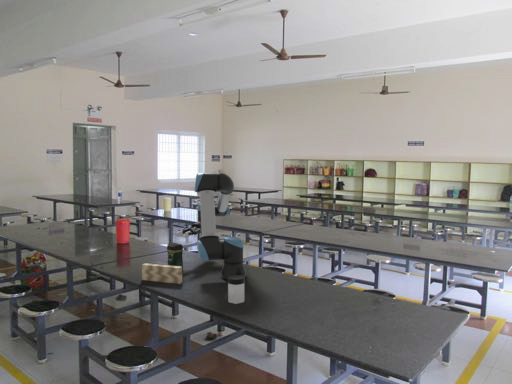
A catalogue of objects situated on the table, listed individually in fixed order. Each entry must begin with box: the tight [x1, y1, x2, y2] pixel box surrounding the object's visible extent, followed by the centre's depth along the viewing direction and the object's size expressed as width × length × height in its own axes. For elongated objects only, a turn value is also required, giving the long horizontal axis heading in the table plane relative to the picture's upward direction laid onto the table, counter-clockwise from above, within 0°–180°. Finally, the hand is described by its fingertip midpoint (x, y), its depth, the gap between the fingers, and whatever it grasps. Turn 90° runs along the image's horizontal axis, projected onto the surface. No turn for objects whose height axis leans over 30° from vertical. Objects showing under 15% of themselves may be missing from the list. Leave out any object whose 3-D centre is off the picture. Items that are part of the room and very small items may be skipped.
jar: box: [227, 275, 246, 305], centre depth 202 cm, size 9×8×12 cm
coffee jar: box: [166, 242, 184, 274], centre depth 247 cm, size 10×8×19 cm
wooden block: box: [141, 262, 183, 285], centre depth 233 cm, size 24×3×9 cm, turn 73°
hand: (181, 234), depth 255 cm, fingers open, 5 cm apart
